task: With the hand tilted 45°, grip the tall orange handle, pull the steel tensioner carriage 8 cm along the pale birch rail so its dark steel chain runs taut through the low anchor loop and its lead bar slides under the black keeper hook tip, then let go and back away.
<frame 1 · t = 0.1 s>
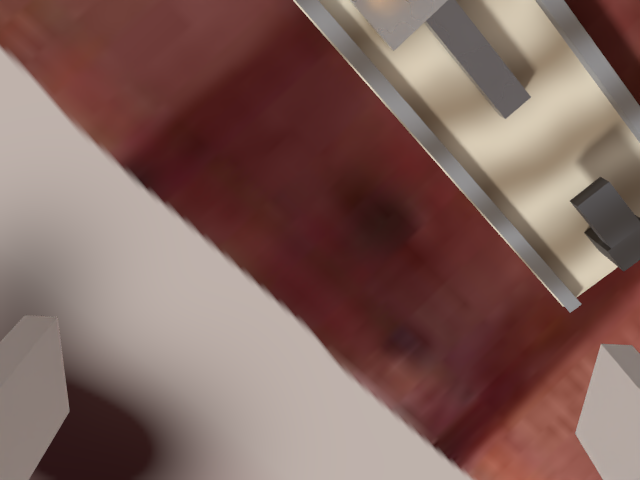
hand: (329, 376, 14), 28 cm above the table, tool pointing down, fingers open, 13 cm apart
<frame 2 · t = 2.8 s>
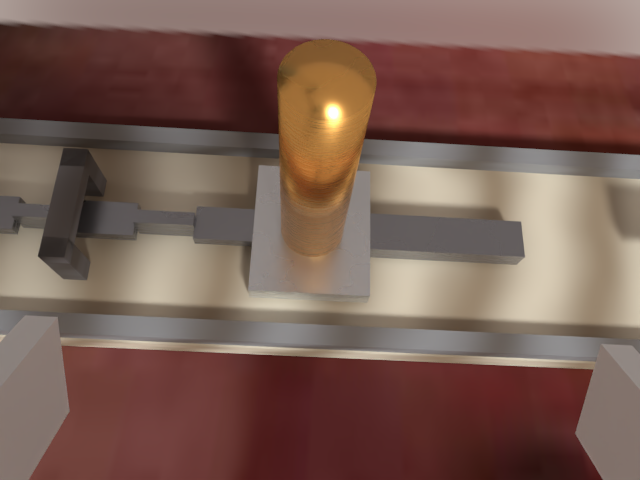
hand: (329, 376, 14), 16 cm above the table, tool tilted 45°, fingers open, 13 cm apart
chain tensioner: (199, 170, 25), point 8 cm above the table, slide at 0.0 cm
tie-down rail: (309, 249, 33), on the table
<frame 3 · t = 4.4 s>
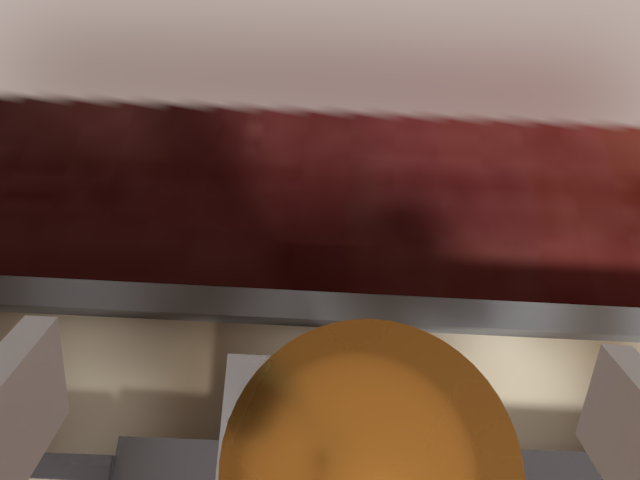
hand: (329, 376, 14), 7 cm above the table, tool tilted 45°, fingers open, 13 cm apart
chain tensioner: (88, 465, 12), point 9 cm above the table, slide at 0.0 cm
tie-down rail: (313, 477, 20), on the table
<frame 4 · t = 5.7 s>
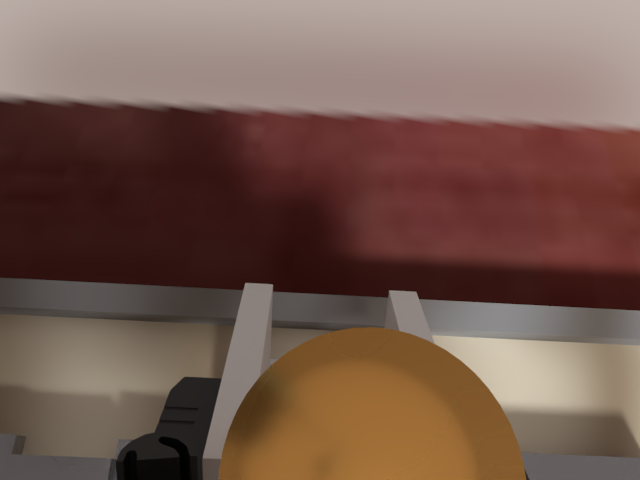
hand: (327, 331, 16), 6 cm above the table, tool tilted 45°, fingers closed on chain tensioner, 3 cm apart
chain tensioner: (88, 469, 12), point 8 cm above the table, slide at 0.0 cm, touching gripper
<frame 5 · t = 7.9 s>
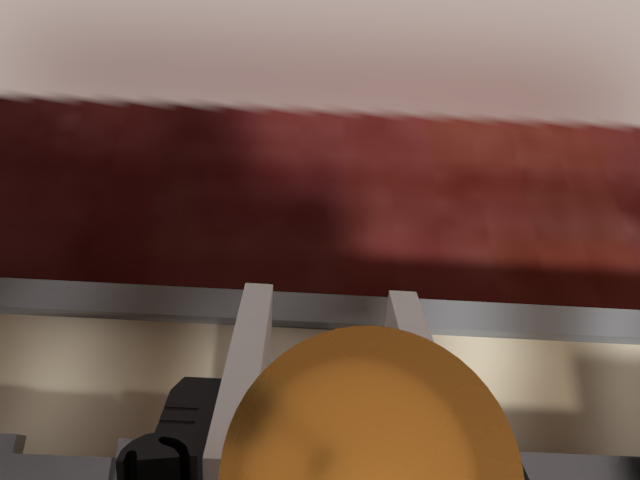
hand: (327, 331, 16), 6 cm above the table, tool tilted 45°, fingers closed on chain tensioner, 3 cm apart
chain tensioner: (88, 468, 12), point 9 cm above the table, slide at 8.0 cm, touching gripper
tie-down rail: (79, 469, 20), on the table
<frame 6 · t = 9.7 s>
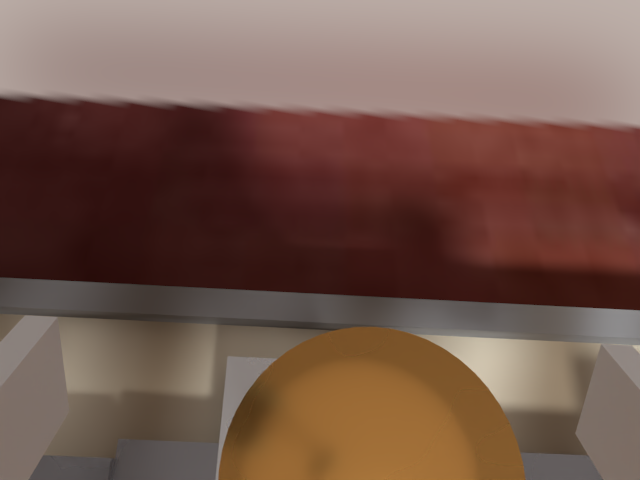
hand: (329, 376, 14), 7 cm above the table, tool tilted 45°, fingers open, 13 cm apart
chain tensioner: (88, 469, 12), point 8 cm above the table, slide at 8.0 cm
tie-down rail: (78, 470, 20), on the table
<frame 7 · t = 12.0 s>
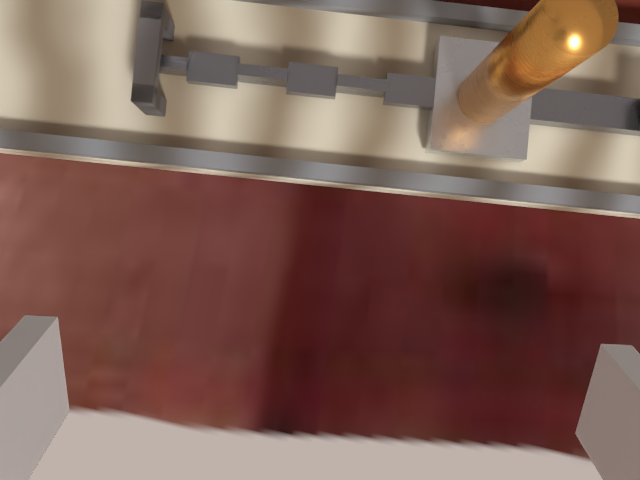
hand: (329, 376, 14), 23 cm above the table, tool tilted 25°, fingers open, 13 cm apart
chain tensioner: (421, 58, 30), point 8 cm above the table, slide at 8.0 cm
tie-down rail: (348, 97, 38), on the table
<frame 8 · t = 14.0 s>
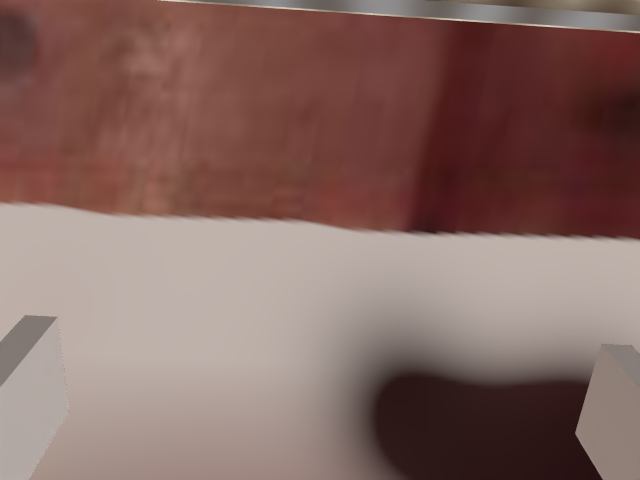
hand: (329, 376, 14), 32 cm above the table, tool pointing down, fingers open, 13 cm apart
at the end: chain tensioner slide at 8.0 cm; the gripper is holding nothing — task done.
